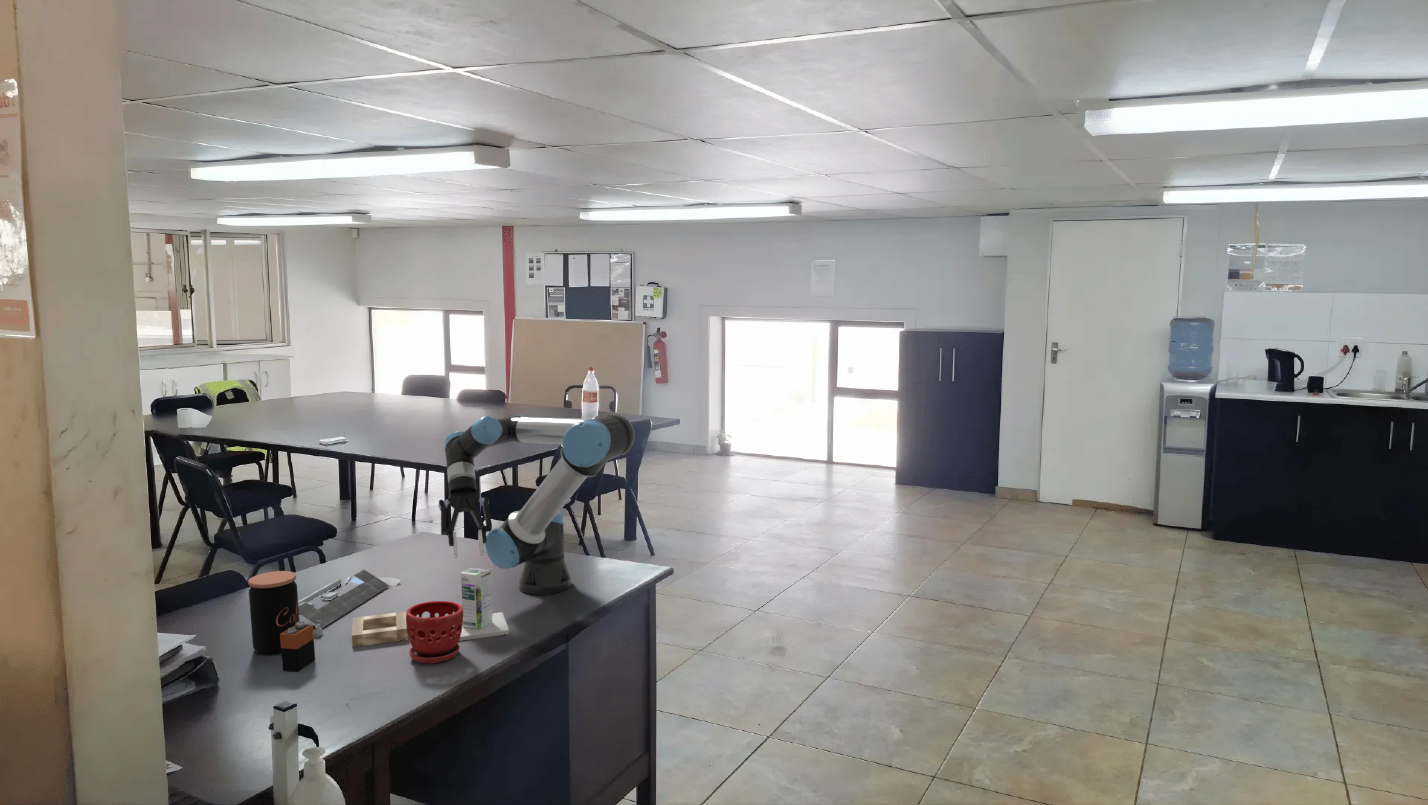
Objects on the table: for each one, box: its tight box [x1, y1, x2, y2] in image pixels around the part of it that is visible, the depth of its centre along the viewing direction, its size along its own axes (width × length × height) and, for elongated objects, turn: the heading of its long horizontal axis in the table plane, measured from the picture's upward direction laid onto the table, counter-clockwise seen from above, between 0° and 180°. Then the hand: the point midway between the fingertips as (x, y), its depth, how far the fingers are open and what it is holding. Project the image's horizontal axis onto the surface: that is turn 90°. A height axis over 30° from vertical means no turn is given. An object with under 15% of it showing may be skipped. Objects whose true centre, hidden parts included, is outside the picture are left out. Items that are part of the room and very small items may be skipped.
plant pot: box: [406, 600, 463, 664], centre depth 218 cm, size 13×13×12 cm
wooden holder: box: [351, 610, 409, 648], centre depth 232 cm, size 13×13×3 cm
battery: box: [280, 620, 316, 673], centre depth 213 cm, size 4×7×10 cm, turn 169°
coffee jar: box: [247, 570, 300, 656], centre depth 223 cm, size 11×11×18 cm
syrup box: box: [460, 567, 493, 629], centre depth 235 cm, size 6×6×14 cm
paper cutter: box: [298, 569, 401, 638], centre depth 254 cm, size 18×45×6 cm, turn 170°
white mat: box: [458, 611, 510, 642], centre depth 236 cm, size 14×14×1 cm
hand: (469, 554), depth 242 cm, fingers open, 6 cm apart
